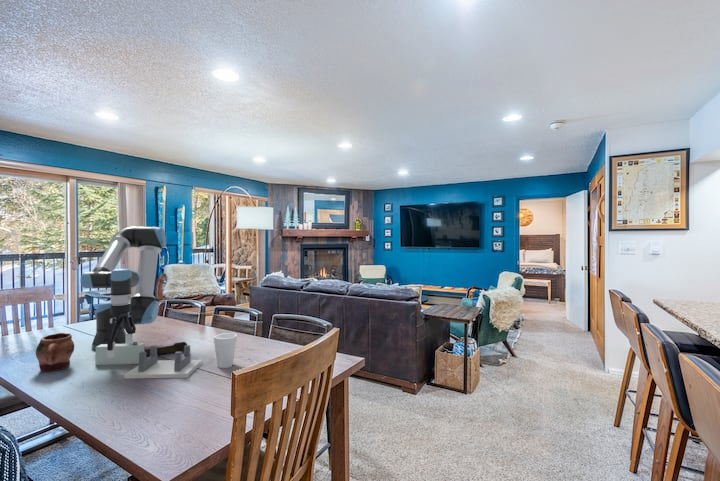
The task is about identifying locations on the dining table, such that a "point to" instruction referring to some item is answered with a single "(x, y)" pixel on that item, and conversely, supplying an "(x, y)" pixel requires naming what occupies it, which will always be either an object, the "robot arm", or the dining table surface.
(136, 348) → the tapered bar with knob
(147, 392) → the dining table surface
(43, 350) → the decorative planter
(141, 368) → the clip rack
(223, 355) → the foam cup
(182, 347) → the hand tool
